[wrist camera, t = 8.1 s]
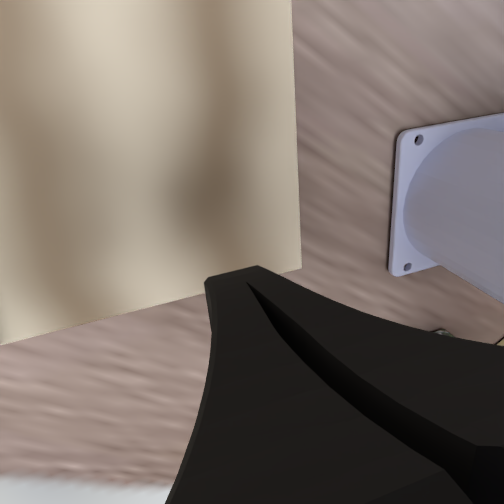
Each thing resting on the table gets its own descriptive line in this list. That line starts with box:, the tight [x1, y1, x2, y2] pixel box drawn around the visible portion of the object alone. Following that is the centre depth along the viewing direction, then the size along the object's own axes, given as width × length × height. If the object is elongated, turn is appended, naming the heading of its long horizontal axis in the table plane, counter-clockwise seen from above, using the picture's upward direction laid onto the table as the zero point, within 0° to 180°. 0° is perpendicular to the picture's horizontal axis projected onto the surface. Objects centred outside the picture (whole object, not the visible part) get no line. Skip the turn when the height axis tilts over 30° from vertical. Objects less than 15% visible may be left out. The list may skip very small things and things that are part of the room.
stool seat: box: [0, 0, 302, 345], centre depth 14 cm, size 18×14×5 cm
